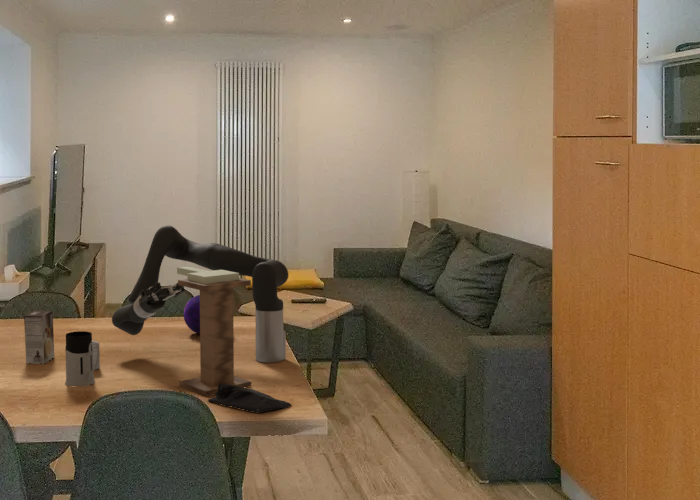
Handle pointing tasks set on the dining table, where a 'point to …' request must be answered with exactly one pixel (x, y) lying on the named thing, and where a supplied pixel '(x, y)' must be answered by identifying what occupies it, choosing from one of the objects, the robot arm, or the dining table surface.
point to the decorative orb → (193, 314)
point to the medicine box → (95, 355)
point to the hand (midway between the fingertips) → (171, 283)
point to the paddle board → (207, 275)
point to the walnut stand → (215, 336)
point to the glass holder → (80, 359)
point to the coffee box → (39, 337)
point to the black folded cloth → (246, 398)
